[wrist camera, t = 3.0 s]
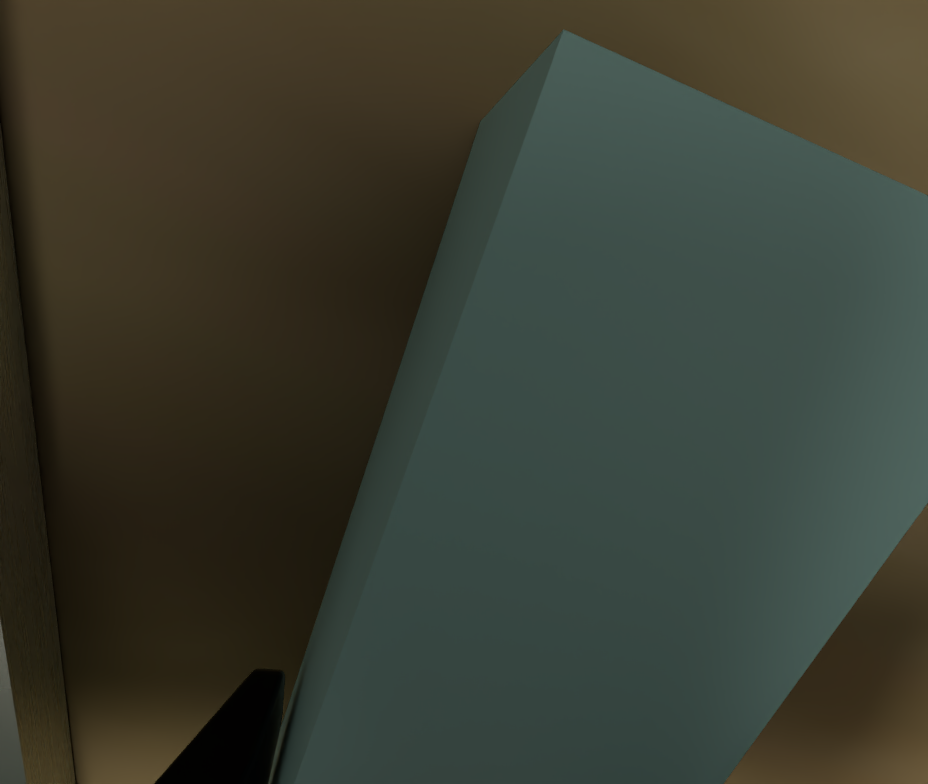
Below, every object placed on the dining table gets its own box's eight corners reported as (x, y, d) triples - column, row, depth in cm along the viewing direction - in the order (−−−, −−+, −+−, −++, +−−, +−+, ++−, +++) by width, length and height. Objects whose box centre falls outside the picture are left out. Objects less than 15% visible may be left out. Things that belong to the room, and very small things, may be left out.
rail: (391, 915, 12) (377, 1259, 8) (224, 895, 11) (123, 1261, 7) (733, 227, 7) (1095, 271, 3) (479, 122, 6) (562, 28, 3)
